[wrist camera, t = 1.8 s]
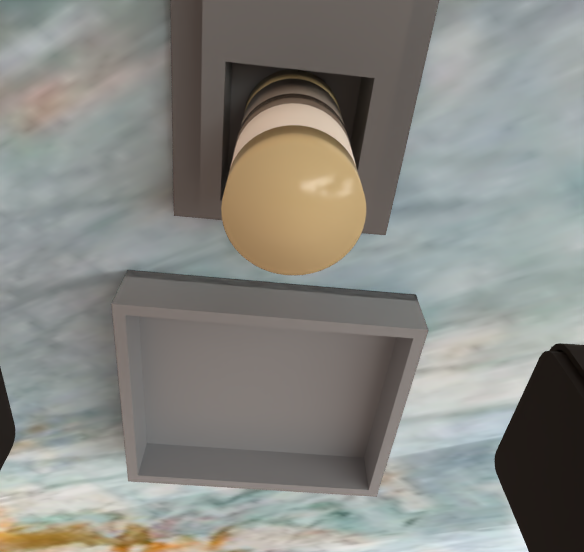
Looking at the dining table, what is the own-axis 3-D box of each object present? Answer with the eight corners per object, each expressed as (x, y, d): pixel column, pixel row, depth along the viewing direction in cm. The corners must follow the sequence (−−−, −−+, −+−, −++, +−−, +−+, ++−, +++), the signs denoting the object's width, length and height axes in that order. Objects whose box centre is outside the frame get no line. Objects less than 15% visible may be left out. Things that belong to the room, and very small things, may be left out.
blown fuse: (347, 74, 21) (379, 151, 14) (332, 169, 23) (353, 281, 16) (246, 63, 21) (223, 135, 13) (241, 160, 23) (218, 269, 16)
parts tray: (415, 294, 28) (428, 330, 26) (370, 456, 35) (376, 496, 33) (127, 270, 27) (111, 303, 25) (139, 441, 34) (128, 481, 32)
